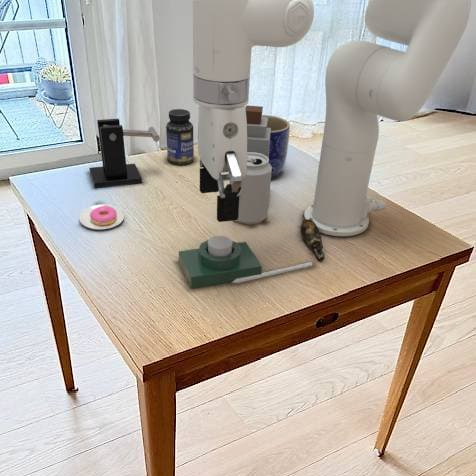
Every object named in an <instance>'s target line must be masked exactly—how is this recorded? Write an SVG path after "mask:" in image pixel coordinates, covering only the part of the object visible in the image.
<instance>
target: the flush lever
mask: <svg viewBox="0 0 476 476" xmlns="http://www.w3.org/2000/svg"><path fill="white" fill-rule="evenodd" d="M103 126H116V125H111V124H103ZM147 129H148V130H142V129H123V136H124V137H139V138H151V139H152V141H154V142H155V143H156V142H157V143H158V142H159V141H160V139H161V138H160V135H159V133H158V132H157V130H156V129H155V127H154V126H150V127H149V128H147Z"/></svg>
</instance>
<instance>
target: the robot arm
mask: <svg viewBox="0 0 476 476" xmlns="http://www.w3.org/2000/svg"><path fill="white" fill-rule="evenodd" d="M471 6H472V2H471V0H368V3H367V6H366V9H365V14H364V23H365V26H366V29H367V30H368V31H369V32H370V33H371V34H372V35H373V36H374V37H377V38H379V39H382V40H386V41H389V42H393V43H397V44H400V45H404V46H407V47H406V48H405V49H406V50H405V51H404V50H403V51H402V50H398V49H395V48H392V47H389V46H386V45H382V44H378V43H373V42H370V41H365V40H351V41H347V42H345V43H343V44H341V45H339V46H338V47H337V48H336V49H335V50H334V51H333V52H332V54H331V55H330V57H329V59H328V62H327V65H326V69H325V78H324V84H325V119H324V128H323V135H322V140H321V148H320V156H319V161H318V169H317V176H316V184H315V191H314V196H313V197H314V198H313V203H312V204H309V205H308V206H307V207H306V208H305V210H304V211H303V212H304V213H303V215H304V217H305V219H307V220H312V221H314V223H315V224H316V226H317V227H318V230H319V232H320V234H324V235H326V236H327V235H328V236H332V237H352V236H357V235H359V234H362V233H363V232H365V231H366V230H367V229H368V227H369V223H370V217H369V214H371V213H372V212H378V211H383V210H385V209H386V207H387V206H386V205H387V204H386V201H385V200H384V199H380V200H374V198H373V197H372V196H367V193H368V190H369V189H368V188H369V183H370V179H371V174H372V169H373V164H374V160H375V155H376V150H377V146H378V141H379V134H380V127H379V126H380V125H379V118H378V116H379V117H383V118H386V119H388V120H391V121H396V122H404V121H407V120H411V119H412V118H414V116H416V115H417V114H418V113H419V112H420V111H421V110H422V108H423V106H424V105H425V104H426V102H427V100H428V99H429V97H430V96H431V94H432V92H433V90H434V89H435V87H436V85H437V83H438V81H439V79H440V77H441V76H442V74H443V72H444V70H445V68H446V67H447V65H448V63H449V61H450V60H451V58H452V56H453V54H454V53H455V50H456V48H457V46H458V45H459V43H460V41H461V39H462V37H463V35H464V33H465V30H466V28H467V25H468V22H469V18H470V15H471ZM314 17H315V7H314V2H313V0H192V72H193V73H192V94H193V95H192V96H193V97H192V101H193V102H194V103H195V104H196V105H198V114H197V115H198V116H197V151H198V152H197V153H198V157H199V167H200V168H199V192H200V193H201V194H208V193H209V194H210V193H219V195H217V196H216V220H217V222H218V223H225V222H232V221H233V222H234V221H236V220H237V219H238V215H239V197H240V190H241V182H242V178H244V177H245V176H246V172H247V120H246V109H245V107H246V105H247V106H248V104H249V97H250V81H251V79H250V78H251V66H252V65H251V63H252V48H253V47H255V46H257V47H258V46H259V47H260V46H261V47H269V48H270V47H271V48H286V47H290V46H293V45H295V44H297V43H298V42H300V41H301V40H302V39H303V38H304V37H306V35H307V34H308V33H309V31H310V29H311V28H312V26H313V22H314ZM222 173H224V174H222ZM225 173H226V174H225ZM228 181H229V183H227V184H226V186H225V183H224V182H228Z"/></svg>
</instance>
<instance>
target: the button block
mask: <svg viewBox="0 0 476 476" xmlns="http://www.w3.org/2000/svg"><path fill="white" fill-rule="evenodd" d="M208 240H209V239H207V240H205V241H203V242H201V243H200V245H199V246H198V248H192V249H185V250H179V251H178V263H179V265H180V267H181V269H182V271H183V273H184V276H185V278H186V280H187V282H188V285H189V287H190V289H196V288H203V287H209V286H214V285H219V284H220V285H221V284H226V283H232V282H233V281H234V280H235V279H238V278H243V277H249V276H254V275H261V273H263V272H262V270H263V265H262V264H261V262H260V260H259V259H258V257H257V256H256V255H255V252H253V250H252V249H251V247H250V246H249V245H248V243H247V242H246V241H240V242H239V241H238V242H236V241H235V240H232V242H233V243H232V253H231V254H230V255H229V256H224V257H217V256H212V255H210V254H209V253H208Z"/></svg>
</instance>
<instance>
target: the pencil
mask: <svg viewBox="0 0 476 476" xmlns="http://www.w3.org/2000/svg"><path fill="white" fill-rule="evenodd" d="M312 267H313V262H312V261H309V262H304V263H299V264H295V265H291V266H287V267H283V268H278V269H274V270H269V271H265V272H262V273H261V275H254V276H249V277H243V278H238V279H235V280H234V281H233V282H231V284H232V283H233V284H240V283H244V282H245V283H246V282H248V281H254V280H258V279H263V278H267V277H271V276H276V275H281V274H285V273H289V272H294V271H297V270H302V269H307V268H312Z"/></svg>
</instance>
